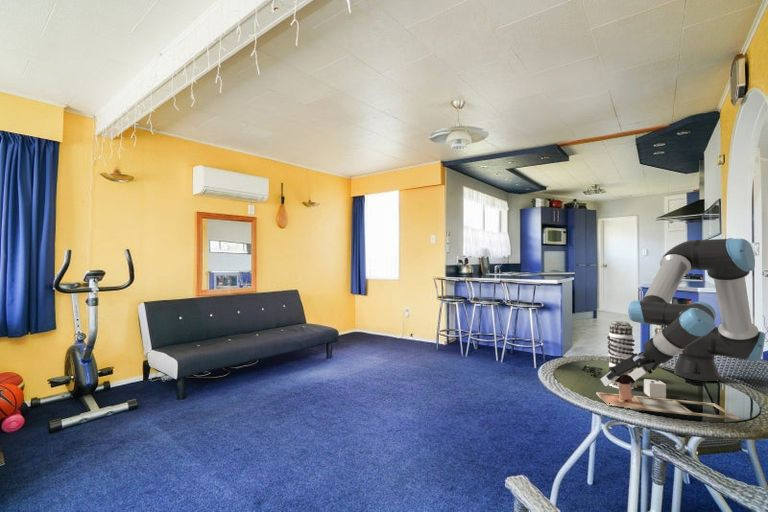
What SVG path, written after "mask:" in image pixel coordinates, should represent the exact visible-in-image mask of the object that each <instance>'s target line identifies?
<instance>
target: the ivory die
mask: <svg viewBox="0 0 768 512" xmlns="http://www.w3.org/2000/svg"><path fill="white" fill-rule="evenodd" d="M643 393H644V394H645V395H646V396H647V397H652V398H663V399H667V384H666V383H664V382H663V381H661V380H660V379H647V378H644V379H643Z"/></svg>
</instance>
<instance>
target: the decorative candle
mask: <svg viewBox="0 0 768 512" xmlns="http://www.w3.org/2000/svg"><path fill="white" fill-rule="evenodd" d="M608 326H609V334H608V335H607V337H606V338H607V340H608V341H607V349H608V350H607V355H608V356H609V361H608V368H607V369H609V370H608V371H607V372H608V373H609V372H610V367H613V366H615V365H617V364H619V363H621V362H622V361H624V360H626V359H628V358H629V357H631V356H632V355H634V354H635V353H634V351H635V349H634V348H633V347H634V346H636V344H634V342H635V341H636V340H635V339H634V335H633V328H634V326H632V325H631V323H630V322H628V321H617V320H615V321H612V322H611V323H610V324H609V325H608ZM632 351H633V352H632ZM634 370H635V369H632V370H630V372H628V374H630V373H631V372H632V371H634ZM628 374H627V375H628ZM608 386H610V387H611V386H612V388H615V389H618V390H619V382H616V384H615V385H612V383H611V384H609V385H608ZM630 387H631V390H634V388H635V387H634V385H633V384H632V383H631V382H630Z"/></svg>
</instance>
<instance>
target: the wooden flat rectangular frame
mask: <svg viewBox="0 0 768 512" xmlns="http://www.w3.org/2000/svg"><path fill="white" fill-rule="evenodd" d="M596 395H597V396H598V398H599V399H600V400H601V399H602V400H603V401H604V402H605V403H606V404H607V405H612V406H618V407H624V408H623V409H627V408H630V409H629V410H640V411H649V412H656V413H657V412H659V413H666V414H667V413H668V414H678V415H687V416H696V417H707V418H717V419H726V420H727V419H728V420H737V421H740V420H741V419H740V417H738V416H737V415H735V414H733V413H732V412H730V411H729V410H726V409H725V408H724V407H721V406H720V405H718V404H717V403H713V402H705V401H704V402H703V401H694V400H693V401H692V400H682V399H671V398H666V399H664V398H654V397H649V396H642V395H641V396H640V395H632V401H633V403H628V402H627V401H626V399H625V403H623V402H620V401H618V399H619V393H618V394H617V393H610V392H608V393H607V392H597V391H596ZM602 400H601V401H602ZM603 401H602V402H603ZM604 402H603V403H604ZM605 403H604V404H605ZM609 403H610V404H609ZM606 404H605V405H606ZM683 404H692V405H700V406H711V407H715V408H717V409H718V410H719V411H721V412H723V413H724V414H726V415H723V414H722V415H721V414H710V413H700V412H694V411H692V410H690V409H688V408H687V407H686V406H685V405H683ZM607 405H606V406H607Z"/></svg>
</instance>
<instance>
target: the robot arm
mask: <svg viewBox="0 0 768 512" xmlns="http://www.w3.org/2000/svg"><path fill="white" fill-rule="evenodd" d="M659 266H660V268H659V269H658V270H657V272H656V275H655V277H654V278H653V279H652V282H651V283H650V286H649V287H648V289H647V291H646V293H645V295H643V297H642V299H641V300H633V301H631V302H629V305H628V309H627V310H628V311H627V312H628V313H627V314H628V318H629V319H630V321H631V322H634V323H639V324H644V325H656V326H665V327H664V328H662V329H661V330H659V331H658V332H657V333H656V334H655V335H653V337H651V338H650V339H648V340H647V341H645V342H644V344H643V351H641V352H639V353H637V352H636V353H634V355H632V356H631V357H629V358H628V359H626V360H624V361H622V362H621V363H619V364H617V365H615V366H613V367H610V369H609V370H610V372H608V373H606V374H604V376H602V377H601V378H600V381H601V383H602V384H603V385H604V387H608V386H610V385H609V384H611V383H612V382H613V381H615V380H616V379H617V378H619V377H620V375H622V374H624V373H626V372H628V371H630V370H632V369H633V370H634V371H632V372H631V373H630V374H628V375H629V376H631V377H632V378H633V379H634V381H635V382H636V381H637V380H639V379H641V378H642V377H643V376H645V375H646V374H647V373H648V374H649V375H651V374H653V371H655V370H656V369H658V367H659V366H660V365H661V364H666V363H667V362H669V361H670V360H672V359H673V358H674V357H675V356H677V355H678V358H677V360H676V363H675V366H674V367H673V374H674V375H676V376H678V377H681V378H684V379H689V380H693V381H700V382H708V381H717V380H719V379H720V380H721V374H720V372H719V370H718V367H717V364H716V362H715V356H719V357H724V358H731V359H737V360H743V361H753V362H759V361H760V360H761V359H762V357H763V353H764V346H765V340H766V334H765V332H763V331H760V330H759V329H758V327H757V326H756V325H755V324H754V323H752V315H751V310H750V302H749V296H748V291H747V290H748V289H747V284H746V277H747V276H749V275H750V272H752V271H754V269H755V267H756V259H755V253H754V250H753V247H752V245H751V243H750V241H748V240H747V239H745V238H732V237H729V238H716V239H715V238H713V239H692V240H686V241H684V242H681V243H679V244H677V245H675V246H673V247H672V248H670V249H669V250H668V251H667V252H666V253H664V254H663V256H662V258H661V259H660V262H659ZM690 271H706V273H707V276H708V277H709V278H711V279H713V282H714V288H715V293H716V298H717V303H718V309H719V315H720V321H721V323H720V324H719V325H718V326H717V327H716V325H717V324H716V323H715V321H716V318H717V312H716V310H715V309H714V307H713V306H712V305H710V304H709V303H707V302H703V301H694V302H691V303H688V304H682V303H671V302H672V300H673V298H674V296H675V294H676V292H677V290H678V288H679V287H680V283H681V282H682V280H683V278H684V276H685V275H687V274H689V273H690ZM717 382H718V381H717Z"/></svg>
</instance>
